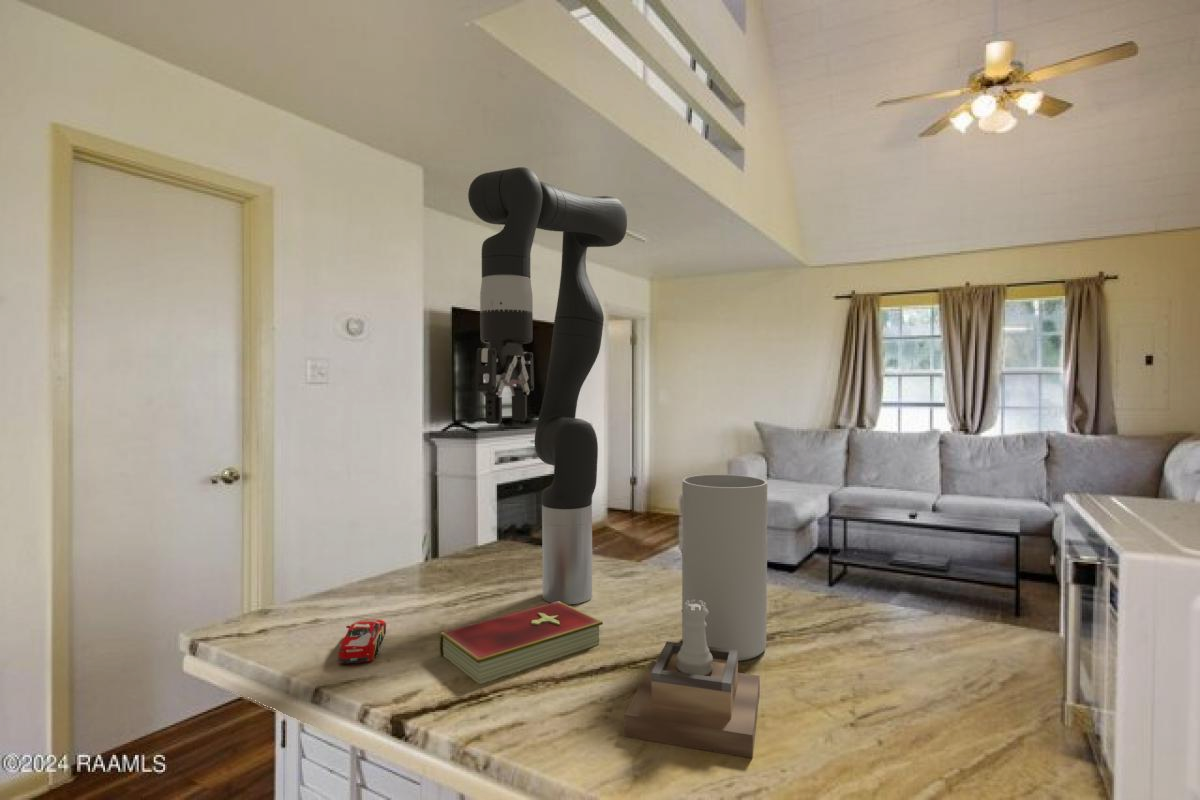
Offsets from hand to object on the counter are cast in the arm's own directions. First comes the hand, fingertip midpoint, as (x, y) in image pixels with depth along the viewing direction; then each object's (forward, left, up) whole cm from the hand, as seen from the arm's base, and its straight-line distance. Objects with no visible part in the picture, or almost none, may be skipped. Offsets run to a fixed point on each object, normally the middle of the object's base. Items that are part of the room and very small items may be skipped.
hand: (507, 421), depth 91 cm
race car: (+5, -22, -35) cm, 41 cm away
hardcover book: (-2, +1, -35) cm, 35 cm away
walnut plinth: (+9, +29, -34) cm, 46 cm away
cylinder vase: (-12, +30, -34) cm, 47 cm away
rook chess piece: (+9, +29, -29) cm, 42 cm away
